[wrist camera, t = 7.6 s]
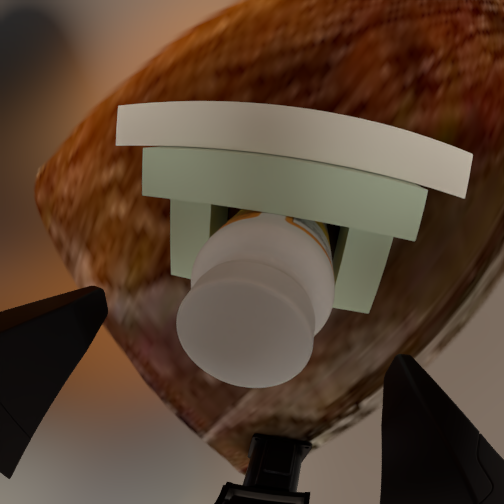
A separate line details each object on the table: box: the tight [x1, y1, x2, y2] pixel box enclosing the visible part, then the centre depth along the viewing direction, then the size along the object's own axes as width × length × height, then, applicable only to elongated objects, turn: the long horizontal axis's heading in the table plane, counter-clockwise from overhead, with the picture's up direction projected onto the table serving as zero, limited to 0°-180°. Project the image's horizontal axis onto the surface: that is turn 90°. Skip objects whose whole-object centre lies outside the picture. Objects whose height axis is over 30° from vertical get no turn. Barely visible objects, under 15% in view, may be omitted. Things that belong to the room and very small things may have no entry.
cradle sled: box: [142, 146, 428, 314], centre depth 13 cm, size 7×11×6 cm, turn 84°
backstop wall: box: [116, 101, 473, 199], centre depth 12 cm, size 2×16×4 cm, turn 84°
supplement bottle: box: [176, 209, 335, 388], centre depth 12 cm, size 5×5×10 cm
